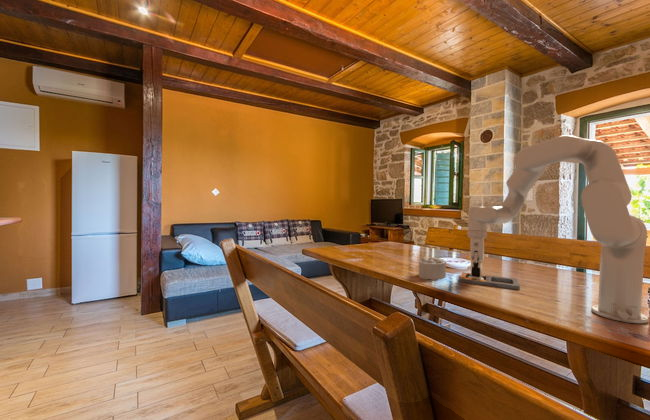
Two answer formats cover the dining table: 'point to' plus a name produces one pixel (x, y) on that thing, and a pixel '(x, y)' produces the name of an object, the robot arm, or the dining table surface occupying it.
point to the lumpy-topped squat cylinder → (432, 268)
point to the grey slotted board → (490, 283)
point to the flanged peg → (480, 272)
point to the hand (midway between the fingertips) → (476, 274)
